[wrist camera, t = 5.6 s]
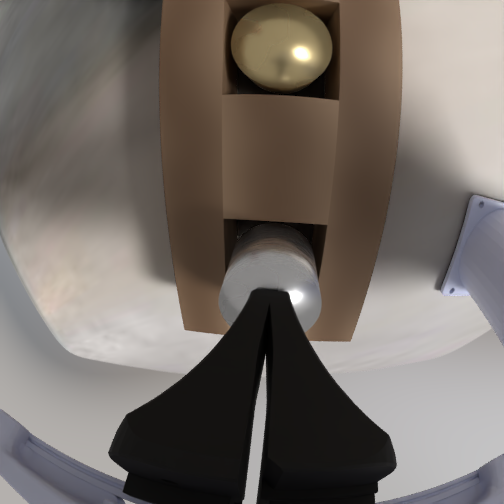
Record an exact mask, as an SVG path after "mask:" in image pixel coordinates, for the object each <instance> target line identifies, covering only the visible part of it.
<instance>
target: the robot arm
mask: <svg viewBox="0 0 504 504" xmlns="http://www.w3.org/2000/svg"><path fill="white" fill-rule="evenodd" d="M480 202H481V204H480V206H479V203H480ZM441 293H442V294H443V295H444V296H469V295H471V297H472V298H473V300H474V301H475V302H476V304H477V305H478V307H479V308H480V310H481V311H482V313H483V314H484V316H485V317H486V319H487V320H488V322H489V323H490V325H491V327H492V328H493V330H494V331H495V333H496V335H497V336H498V338H499V340H500V341H501V343H502V345H503V346H504V202H501V201H497V200H493V199H490V198H486V197H482V196H478V195H473V196H472V197H471V198H470V201H469V205H468V209H467V213H466V216H465V220H464V224H463V227H462V230H461V234H460V237H459V240H458V243H457V246H456V249H455V252H454V255H453V258H452V261H451V264H450V266H449V269H448V272H447V274H446V277H445V279H444V282H443V284H442V287H441ZM265 355H266V385H267V408H266V421H265V431H264V442H263V452H262V460H261V470H260V478H259V486H258V494H257V503H256V504H504V454H502V455H500V456H498V457H497V458H495V459H493V460H491V461H490V462H488V463H487V464H485V465H483V466H482V467H480V468H479V469H478V470H476V471H474V472H472V473H469V474H467V475H465V476H463V477H460V478H458V479H455V480H453V481H450V482H448V483H445V484H443V485H440V486H437V487H434V488H431V489H428V490H425V491H422V492H419V493H415V494H411V495H408V496H404V497H401V498H396V499H392V500H388V501H383V502H378V503H375V495H374V493H377V492H378V481H379V480H381V479H382V478H384V477H386V476H387V475H389V474H390V473H392V472H393V471H394V469H395V468H396V465H397V463H396V457H395V452H394V449H393V445H392V442H391V439H390V437H389V435H388V434H387V433H386V432H385V431H383V430H382V429H381V428H380V427H379V426H377V425H376V424H375V423H374V422H373V421H372V420H371V419H369V418H368V417H367V416H366V415H365V414H364V413H363V412H362V411H361V410H360V409H359V408H358V407H357V406H356V405H355V404H354V403H353V401H352V400H351V399H350V398H349V397H348V396H347V395H346V393H345V392H344V391H343V390H342V389H341V388H340V386H339V385H338V384H337V383H336V382H335V380H334V379H333V378H332V376H331V375H330V374H329V372H328V371H327V369H326V368H325V366H324V365H323V364H322V362H321V361H320V359H319V357H318V356H317V354H316V353H315V351H314V349H313V347H312V346H311V344H310V342H309V340H308V338H307V336H306V335H305V332H304V330H303V328H302V326H301V324H300V322H299V320H298V317H297V315H296V312H295V310H294V307H293V304H292V301H291V297H290V294H289V293H288V292H287V291H272V290H257V289H254V290H253V291H251V293H250V296H249V298H248V300H247V302H246V304H245V306H244V307H243V309H242V311H241V312H240V314H239V315H238V317H237V318H236V320H235V321H234V323H233V324H232V326H231V327H230V328H229V330H228V331H227V332H226V334H225V335H224V336H223V337H222V339H221V340H220V341H219V342H218V344H217V345H216V346H215V347H214V348H213V349H212V350H211V351H210V353H209V354H208V355H207V356H206V357H205V358H204V359H203V360H202V361H201V362H200V363H199V364H198V365H196V366H195V367H194V368H193V369H192V370H191V371H190V372H189V373H188V374H187V375H185V376H184V377H183V378H182V379H181V380H179V381H178V382H177V383H175V384H174V385H173V386H171V387H170V388H169V389H167V390H166V391H164V392H163V393H162V394H160V395H159V396H157V397H156V398H154V399H153V400H151V401H149V402H148V403H146V404H144V405H142V406H141V407H139V408H137V409H135V410H134V411H132V412H130V413H128V414H127V415H126V416H125V418H124V419H123V421H122V423H121V425H120V426H119V428H118V430H117V432H116V434H115V437H114V439H113V442H112V444H111V447H110V450H109V452H108V453H109V456H110V458H111V459H112V460H113V461H114V462H115V463H117V464H118V465H119V466H121V467H122V468H123V469H125V470H126V471H127V472H129V473H128V476H127V479H126V482H124V481H122V480H119V479H117V478H114V477H112V476H109V475H107V474H105V473H102V472H100V471H98V470H95V469H93V468H91V467H89V466H87V465H85V464H83V463H81V462H79V461H77V460H75V459H73V458H71V457H69V456H67V455H65V454H63V453H62V452H60V451H58V450H57V449H55V448H53V447H51V446H50V445H48V444H46V443H45V442H43V441H42V440H40V439H38V438H37V437H35V436H34V435H32V434H31V433H30V432H29V431H28V430H27V429H26V428H25V427H24V426H22V425H21V424H20V423H19V422H17V421H16V420H15V419H14V418H12V417H11V416H10V415H8V414H7V413H5V412H4V411H3V410H1V409H0V475H1V476H2V477H3V478H4V479H5V480H6V481H7V482H8V483H9V484H10V485H11V486H12V487H13V488H14V489H15V490H16V491H17V492H18V493H19V494H20V495H21V496H22V497H23V498H24V499H25V500H26V501H27V502H28V503H29V504H125V502H124V500H123V499H125V500H128V501H130V502H133V503H136V504H242V500H244V497H245V488H246V480H247V472H248V463H249V455H250V446H251V437H252V428H253V420H254V411H255V405H256V399H257V394H258V390H259V385H260V380H261V375H262V370H263V365H264V360H265Z"/></svg>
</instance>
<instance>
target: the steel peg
mask: <svg viewBox="0 0 504 504" xmlns="http://www.w3.org/2000/svg"><path fill="white" fill-rule="evenodd" d="M254 289H257V290H272V291H287V292H288V293H289V294H290V297H291V301H292V304H293V307H294V310H295V312H296V315H297V317H298V320H299V322H300V324H301V326H302V328H303V330H304V332H306V331H307V330H309V329H310V328H311V327H312V326H313V325H314V324H315V322H316V321H317V319H318V317H319V315H320V312H321V306H322V302H321V294H320V288H319V282H318V276H317V270H316V264H315V259H314V254H313V249H312V247H311V245H310V243H309V241H308V240H307V239H306V237H305V236H304V235H303V234H302V233H300V232H299V231H298V230H296V229H294V228H292V227H290V226H287V225H284V224H279V223H267V224H261V225H258V226H255V227H253V228H251V229H249V230H248V231H246V232H245V233H244V234H243V235H242V236H241V237H240V238H239V240H238V241H237V243H236V245H235V247H234V250H233V253H232V256H231V259H230V262H229V266H228V269H227V272H226V275H225V278H224V281H223V284H222V287H221V290H220V294H219V308H220V312H221V314H222V316H223V318H224V319H225V321H226V322H227V323H228V325H229V326H230V327H231V326H232V324H233V323H234V321H235V320H236V318H237V317H238V315H239V314H240V312H241V311H242V309H243V307H244V306H245V304H246V302H247V300H248V298H249V296H250V293H251V291H253V290H254Z"/></svg>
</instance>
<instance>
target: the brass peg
mask: <svg viewBox="0 0 504 504" xmlns="http://www.w3.org/2000/svg"><path fill="white" fill-rule="evenodd" d="M231 50H232V55H233V57H234V60H235V62H236V64H237V65H238V67H239V68H240V69H241V70H242V71H243V72H244V73H245V75H247V76H248V77H249V78H250V79H251V80H252V81H253V82H254V83H255V84H256V85H257V86H259V87H260V88H262V89H264V90H266V91H269V92H273V93H279V94H288V93H294V92H297V91H300V90H302V89H304V88H306V87H307V86H308V85H310V84H311V83H312V82H313V81H314V80H315V79H316V78H318V77H319V76H320V75H321V74H322V73H323V72H324V70H325V69H326V68H327V66H328V64H329V62H330V60H331V56H332V40H331V36H330V34H329V31H328V30H327V28H326V26H325V25H324V24H323V22H322V21H321V20H320V19H319V18H318V17H317V16H315V15H314V14H313V13H311V12H310V11H308V10H306V9H304V8H302V7H299V6H296V5H291V4H284V3H275V4H268V5H264V6H261V7H258V8H256V9H254V10H252V11H250V12H249V13H247V14H246V15H245V16H244V17H243V18H242V19H241V20H240V21H239V22H238V24H237V25H236V27H235V29H234V31H233V34H232V38H231Z"/></svg>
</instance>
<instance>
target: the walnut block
mask: <svg viewBox="0 0 504 504" xmlns="http://www.w3.org/2000/svg"><path fill="white" fill-rule="evenodd" d="M275 3H284V4H291V5H296V6H299V7H302V8H304V9H306V10H308V11H310V12H311V13H313V14H314V15H315V16H317V17H318V18H319V19H320V20H321V21H322V22H323V24H324V25H325V26H326V28H327V30H328V31H329V34H330V36H331V40H332V56H331V60H330V62H329V64H328V66H327V68H326V69H325V95H324V99H321V98H312V97H300V96H285V95H259V94H237V84H238V65H237V64H236V62H235V60H234V57H233V55H232V50H231V38H232V34H233V31H234V29H235V27H236V25H237V24H238V22H239V21H240V20H241V19H242V18H243V17H244V16H245V15H246V14H247V13H249V12H250V11H252V10H254V9H256V8H258V7H261V6H264V5H268V4H275ZM401 98H402V32H401V17H400V6H399V0H163V6H162V19H161V35H160V62H159V106H160V136H161V154H162V169H163V181H164V193H165V203H166V212H167V221H168V230H169V238H170V245H171V252H172V259H173V266H174V273H175V279H176V285H177V291H178V297H179V303H180V308H181V313H182V319H183V324H184V329H185V330H189V331H196V332H204V333H213V334H222V335H225V334H226V332H227V331H228V330H229V328H230V326H229V325H228V323H227V322H226V321H225V319H224V318H223V316H222V314H221V312H220V308H219V294H220V290H221V287H222V284H223V281H224V278H225V275H226V272H227V269H228V266H229V262H230V259H231V256H232V253H233V250H234V247H235V245H236V243H237V219H243V220H261V221H278V222H294V223H308V224H314V230H313V238H312V246H311V247H312V249H313V254H314V259H315V264H316V270H317V276H318V282H319V288H320V294H321V302H322V306H321V312H320V315H319V317H318V319H317V321H316V322H315V324H314V325H313V326H312V327H311V328H310V329H309V330H307V331H306V332H305V335H306V336H307V338H308V340H309V341H351V339H352V336H353V333H354V330H355V327H356V325H357V322H358V319H359V316H360V313H361V310H362V306H363V303H364V300H365V297H366V294H367V290H368V287H369V283H370V280H371V276H372V273H373V269H374V266H375V262H376V258H377V254H378V250H379V246H380V242H381V237H382V233H383V229H384V224H385V219H386V214H387V209H388V204H389V199H390V193H391V188H392V182H393V175H394V169H395V162H396V154H397V146H398V137H399V126H400V114H401Z"/></svg>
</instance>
